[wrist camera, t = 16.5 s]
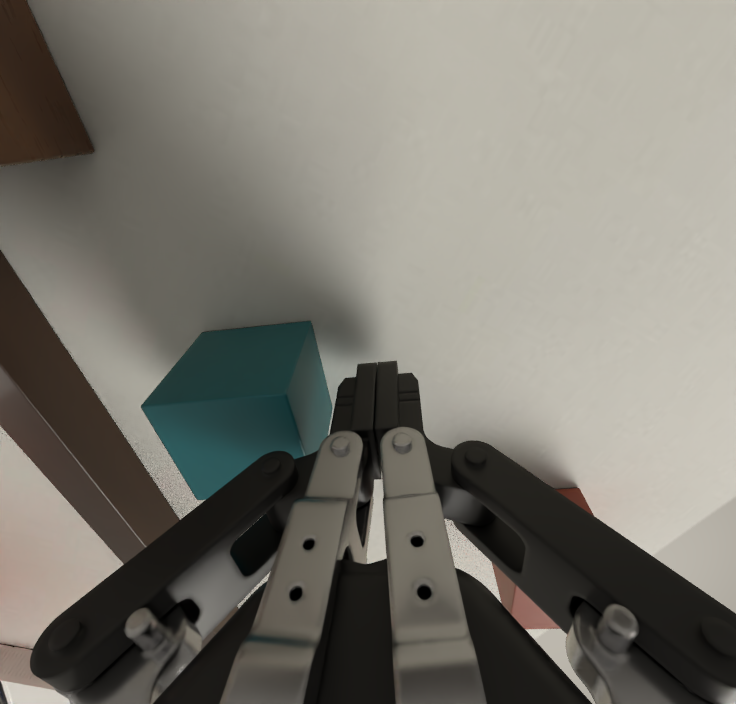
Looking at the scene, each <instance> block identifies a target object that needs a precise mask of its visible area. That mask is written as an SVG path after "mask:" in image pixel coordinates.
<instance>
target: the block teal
mask: <svg viewBox="0 0 736 704" xmlns="http://www.w3.org/2000/svg"><path fill="white" fill-rule="evenodd" d="M141 408H142V410H143V412H144V413H145V415H146V416H147V418H148V420H149V421H150V423H151V425H152V426H153V428H154V430H155V431H156V433H157V435H158V436H159V438H160V440H161V441H162V443H163V444H164V446H165V448H166V449H167V451H168V453H169V454H170V456H171V458H172V459H173V461H174V463H175V464H176V466H177V468H178V469H179V471H180V472H181V474H182V476H183V477H184V479H185V481H186V482H187V484H188V486H189V487H190V489H191V491H192V492H193V494H194V496H195V497H196V499H197V500H206V499H208V498H209V497H210V496H212V495H213V494H214V493H215V492H217V491H218V490H219V489H220V488H222V487H223V486H224V485H225V484H227V483H228V482H229V481H231V480H232V479H233V478H234V477H236V476H237V475H238V474H239V473H241V472H242V471H243V470H245V469H246V468H247V467H248V466H250V465H251V464H252V463H253V462H255V461H256V460H257V459H258V458H260V457H261V456H263V455H265V454H267V453H269V452H273V451H285V452H288V453H289V454H291V455H292V457H293V458H294V459H297V458H300V457H303V456H306V455H309V454H312V453H314V452H316V451H317V450H319V447H320V444H321V442H322V441H323V440H324V439H325V438H326V437H327V436H328V431H329V425H330V419H331V413H332V404H331V400H330V396H329V392H328V388H327V384H326V380H325V376H324V371H323V367H322V363H321V359H320V355H319V351H318V347H317V343H316V339H315V335H314V331H313V327H312V323H311V321H305V322H296V323H286V324H277V325H267V326H258V327H249V328H239V329H230V330H220V331H211V332H203V333H201V334H200V335H199V337H198V338H197V339H196V340H195V341H194V343H193V344H192V345H191V346H190V348H189V349H188V350H187V351H186V352H185V354H184V355H183V356H182V357H181V358H180V360H179V361H178V362H177V363H176V364H175V366H174V367H173V368H172V369H171V370H170V372H169V373H168V374H167V375H166V376H165V378H164V379H163V380H162V381H161V382H160V384H159V385H158V386H157V387H156V388H155V390H154V391H153V392H152V393H151V394H150V396H149V397H148V398H147V399H146V400H145V402H144V403H143V404H142V405H141Z"/></svg>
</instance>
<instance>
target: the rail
mask: <svg viewBox="0 0 736 704" xmlns="http://www.w3.org/2000/svg"><path fill="white" fill-rule="evenodd" d="M0 426H1V427H2V428H3V429H4V430H5V431H6V432H7V433H8V435H9V436H10V437H11V438H12V439H13V440H14V441H15V442H16V444H17V445H18V446H19V447H20V448H21V449H22V450H23V451H24V452H25V454H26V455H27V456H28V457H29V458H30V459H31V460H32V461H33V463H34V464H35V465H36V466H37V467H38V468H39V469H40V470H41V472H42V473H43V474H44V475H45V476H46V477H47V478H48V479H49V481H50V482H51V483H52V484H53V485H54V486H55V487H56V488H57V490H58V491H59V492H60V493H61V494H62V495H63V496H64V497H65V498H66V500H67V501H68V502H69V503H70V504H71V505H72V506H73V507H74V509H75V510H76V511H77V512H78V513H79V514H80V515H81V516H82V518H83V519H84V520H85V521H86V522H87V523H88V524H89V525H90V527H91V528H92V529H93V530H94V531H95V532H96V533H97V534H98V536H99V537H100V538H101V539H102V540H103V541H104V542H105V543H106V544H107V546H108V547H109V548H110V549H111V550H112V551H113V552H114V553H115V555H116V556H117V557H118V558H119V559H120V560H121V561H122V562H123V564H125V563H127V562H128V561H129V560H130V559H132V558H133V557H134V556H135V555H137V554H138V553H139V552H141V551H142V550H143V549H144V548H146V547H147V546H148V545H149V544H151V543H152V542H153V541H154V540H156V539H157V538H158V537H160V536H161V535H162V534H163V533H165V532H166V531H167V530H168V529H170V528H171V527H172V526H173V525H175V524H176V523H177V522H179V521H180V520H179V519H178V517H177V516H176V514H175V513H174V511H173V510H172V508H171V507H170V505H169V504H168V502H167V501H166V499H165V498H164V496H163V495H162V493H161V492H160V490H159V489H158V487H157V486H156V484H155V483H154V481H153V480H152V478H151V477H150V475H149V474H148V472H147V471H146V469H145V468H144V466H143V465H142V463H141V462H140V460H139V459H138V457H137V456H136V454H135V452H134V451H133V449H132V448H131V446H130V445H129V443H128V442H127V440H126V439H125V437H124V436H123V434H122V433H121V431H120V430H119V428H118V427H117V425H116V424H115V422H114V421H113V419H112V418H111V416H110V415H109V413H108V412H107V410H106V409H105V407H104V406H103V404H102V403H101V401H100V400H99V398H98V397H97V395H96V394H95V392H94V391H93V389H92V388H91V386H90V385H89V383H88V382H87V380H86V379H85V377H84V376H83V374H82V373H81V371H80V370H79V368H78V367H77V365H76V364H75V362H74V361H73V359H72V358H71V356H70V355H69V353H68V352H67V350H66V349H65V347H64V346H63V344H62V343H61V341H60V340H59V338H58V337H57V335H56V334H55V332H54V331H53V329H52V328H51V326H50V325H49V323H48V322H47V320H46V319H45V317H44V316H43V314H42V313H41V311H40V310H39V308H38V307H37V305H36V304H35V302H34V301H33V299H32V298H31V296H30V295H29V293H28V292H27V290H26V289H25V287H24V286H23V284H22V283H21V281H20V280H19V278H18V277H17V275H16V274H15V272H14V270H13V269H12V267H11V266H10V264H9V263H8V261H7V260H6V258H5V257H4V255H3V254H2V252H1V251H0ZM237 610H238V607H237V606H236V607H235V608H234V609H233V610H232V611H231V612H230V613H229V614H228V615H227V616H226V617H225V618H224V619H223V620H222V621H221V622H220V623H219V624H218V626H217V627H216V628H215V629H214V630H213V631H212V632H211V633H210V634H209V635H208V636H207V637H206V638H205V639H204V640H203V641H202V645H201V650H202V649H203V648H204V647H205V646H206V644H207V643H208V642H209V641H210V640H211V639H212V638H213V637H214V636H215V635H216V634H217V632H218V631H219V630H220V629H221V628H222V627H223V626H224V625H225V624H226V623H227V621H228V620H229V619H230V618H231V617H232V616H233V615H234V614H235V613H236V612H237Z"/></svg>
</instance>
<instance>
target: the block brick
mask: <svg viewBox="0 0 736 704" xmlns="http://www.w3.org/2000/svg"><path fill="white" fill-rule="evenodd" d="M555 490H556V491H558V492H559V493H561V494H562V495H564V496H565V497H567V498H568V499H570V500H571V501H572V502H574V503H575V504H577V505H578V506H580V507H581V508H583V509H584V510H586V511H587V512H588V513H590V514H591V515H593V513H592V511H591V509H590V508H589V506H588V504H587V502H586V500H585V498H584V496H583V494H582V492H581V490H580V489H579V488H571V489H555ZM593 516H594V515H593ZM492 565H493V569H494V573H495V577H496V581H497V586H498V590H499V594H500V598H501V602H502V605H503V606H504V607H505V608H506V609H507V610H508V611H509V612H510V614H511V615H512V616H513V617H514V618H515V619H516V620H517V621H518V622H519V624H520V625H521V626H522V627H523V628H524V629H561V628H560V627H559V626H558V625H557V624H556V623H555V622H554V621H553V620H552V619H551V618H550V617H549V616H547V615H546V614H545V613H544V612H543V611H542V610H541V609H540V608H539V607H538V606H537V605H536V604H535V603H534V602H533V601H532V600H531V599H530V598H529V597H528V596H527V595H526V594H525V593H524V592H523V591H522V590H521V589H520V588H518V587H517V586H516V585H515V584H514V583H513V582H512V581H511V580H510V579H509V578H508V577H507V576H506V575H505V574H504V573H503V572H502V571H501V570H500V569H499V568H498V567H497V566H496V565H495V564H494V563H493V562H492Z"/></svg>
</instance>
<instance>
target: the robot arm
mask: <svg viewBox="0 0 736 704" xmlns="http://www.w3.org/2000/svg"><path fill="white" fill-rule="evenodd" d="M381 471H382V478H383V491H384V498H383V511H384V525H385V540H386V554H387V559H384V560H381V561H378V562H374V563H371V564H367V549H368V541H369V533H370V525H371V517H372V509H373V488H374V479H381ZM260 517H261V518H260ZM259 518H260V519H259ZM444 518H446V519H449V520H453V522H454V524H455V526H456V527H457V528H458V530H459V531H460V532H461V533H462V534H464V535H465V536H466V537H467V538H468V539H469V540H470V541H471V542H472V543H473V544H474V545H475V546H476V547H477V548H478V549H479V550H480V551H481V552H482V553H483V554H484V555H485V556H486V557H487V558H488V559H489V560H490V561H492V562H493V563H494V564H495V565H496V566H497V567H498V568H499V569H500V570H501V571H502V572H503V573H504V574H505V575H506V576H507V577H508V578H509V579H510V580H511V581H512V582H513V583H514V584H515V585H516V586H517V587H518V588H520V589H521V590H522V591H523V592H524V593H525V594H526V595H527V596H528V597H529V598H530V599H531V600H532V601H533V602H534V603H535V604H536V605H537V606H538V607H539V608H540V609H541V610H542V611H543V612H544V613H545V614H546V615H547V616H549V617H550V618H551V619H552V620H553V621H554V622H555V623H556V624H557V625H558V626H559V627H560V628H561V629H562V630H563V631H564V632H565V633H566V634H567V637H566V652H567V656H568V659H569V662H570V664H571V666H572V668H573V670H574V671H575V673H576V675H577V676H578V677H579V678H580V680H581V681H582V682H583V683H584V684H585V686H586V687H587V689H588V690H589V692H590V693H591V695H592V697H593V699H594V701H595V703H596V704H736V614H735V613H734V612H732V611H731V610H730V609H728V608H727V607H725V606H724V605H722V604H721V603H720V602H718V601H717V600H715V599H714V598H712V597H711V596H709V595H708V594H706V593H705V592H704V591H702V590H701V589H699V588H698V587H696V586H695V585H693V584H692V583H690V582H689V581H688V580H686V579H685V578H683V577H682V576H680V575H679V574H677V573H676V572H674V571H673V570H671V569H670V568H669V567H667V566H666V565H664V564H663V563H661V562H660V561H658V560H657V559H655V558H654V557H653V556H651V555H650V554H648V553H647V552H645V551H644V550H642V549H641V548H639V547H638V546H637V545H635V544H634V543H632V542H631V541H629V540H628V539H626V538H625V537H623V536H622V535H621V534H619V533H618V532H616V531H615V530H613V529H612V528H610V527H609V526H607V525H606V524H604V523H603V522H602V521H600V520H599V519H597V518H596V517H594V516H593V515H591V514H590V513H588V512H587V511H586V510H584V509H583V508H581V507H580V506H578V505H577V504H575V503H574V502H572V501H571V500H570V499H568V498H567V497H565V496H564V495H562V494H561V493H559V492H558V491H556V490H555V489H554V488H552V487H551V486H549V485H548V484H546V483H545V482H543V481H542V480H540V479H539V478H538V477H536V476H535V475H533V474H532V473H530V472H529V471H527V470H526V469H524V468H523V467H521V466H520V465H519V464H517V463H516V462H514V461H513V460H511V459H510V458H508V457H507V456H505V455H504V454H503V453H501V452H500V451H498V450H497V449H495V448H494V447H492V446H491V445H489V444H487V443H485V442H481V441H466V442H463V443H460V444H459V445H457V446H456V447H455V448H454V449H450V448H446V447H442V446H439V445H436V444H434V443H433V442H431V441H430V440H429V439H428V438H427V437H426V435H425V433H424V430H423V422H422V413H421V404H420V395H419V385H418V380H417V379H416V378H415V377H414V375H413V374H412V373H403V374H398V367H397V361H389V362H378V365H377V363H365V364H358V366H357V374H356V377H352V378H345V379H344V380H343V382H342V383H341V384H340V385H339V387H338V392H337V398H336V402H335V408H334V413H333V419H332V424H331V430H330V435H328V436H327V437H326V438H325V439H324V440H323V441H322V442H321V444H320V447H319V450H317V451H316V452H314V453H312V454H309V455H306V456H303V457H300V458H297V459H294V458H293V457H292V455H291V454H289V453H288V452H285V451H273V452H269V453H267V454H265V455H263V456H261V457H260V458H258V459H257V460H256V461H255V462H253V463H252V464H251V465H250V466H248V467H247V468H246V469H245V470H243V471H242V472H241V473H239V474H238V475H237V476H236V477H234V478H233V479H232V480H231V481H229V482H228V483H227V484H225V485H224V486H223V487H222V488H220V489H219V490H218V491H217V492H215V493H214V494H213V495H212V496H210V497H209V498H208V499H206V500H205V501H204V502H203V503H201V504H200V505H199V506H198V507H196V508H195V509H194V510H193V511H191V512H190V513H189V514H187V515H186V516H185V517H184V518H182V519H181V520H180V521H179V522H177V523H176V524H175V525H173V526H172V527H171V528H170V529H168V530H167V531H166V532H165V533H163V534H162V535H161V536H160V537H158V538H157V539H156V540H154V541H153V542H152V543H151V544H149V545H148V546H147V547H146V548H144V549H143V550H142V551H141V552H139V553H138V554H137V555H135V556H134V557H133V558H132V559H130V560H129V561H128V562H127V563H125V564H124V565H123V566H121V567H120V568H119V569H118V570H116V571H115V572H114V573H113V574H111V575H110V576H109V577H108V578H106V579H105V580H104V581H102V582H101V583H100V584H99V585H97V586H96V587H95V588H94V589H92V590H91V591H90V592H89V593H87V594H86V595H85V596H83V597H82V598H81V599H80V600H78V601H77V602H76V603H75V604H73V605H72V606H71V607H69V608H68V609H67V610H66V611H64V612H63V613H62V614H61V615H59V616H58V617H57V618H56V619H55V620H54V621H53V622H52V623H51V624H50V625H49V626H48V627H47V628H46V629H45V630H44V632H43V633H42V635H41V636H40V637H39V639H38V641H37V642H36V644H35V646H34V648H33V651H32V654H31V658H30V669H31V672H32V673H33V674H34V675H35V676H36V677H38V678H40V679H41V680H43V681H44V682H46V683H48V684H49V685H51V686H53V688H54V689H55V691H56V692H58V693H59V694H61V695H63V696H64V697H66V698H68V699H69V702H70V704H592V703H591V702H590V701H589V700H588V699H587V697H586V696H585V695H584V694H583V693H582V692H581V691H580V690H579V689H578V688H577V687H576V685H575V684H574V683H573V682H572V681H571V680H570V679H569V678H568V677H567V675H566V674H565V673H564V672H563V671H562V670H561V669H560V668H559V667H558V666H557V664H555V662H554V661H553V660H552V659H551V658H550V657H549V656H548V654H547V653H546V652H545V651H544V650H543V649H542V648H541V647H540V646H539V645H538V644H537V642H536V641H535V640H534V639H533V638H532V637H531V636H530V635H529V633H528V632H527V631H526V630H525V629H524V628H523V627H522V626H521V625H520V624H519V622H518V621H517V620H516V619H515V618H514V617H513V616H512V615H511V614H510V612H509V611H508V610H507V609H506V608H505V607H504V606H503V605H502V604H501V603H500V601H499V600H498V599H497V598H496V597H495V596H494V595H493V594H492V593H491V592H490V591H489V590H488V588H486V587H485V586H484V585H483V584H482V583H481V582H479V581H478V580H477V579H475V578H474V577H472V576H471V575H469V574H467V573H466V572H464V571H462V570H460V569H457V568H455V566H454V561H453V557H452V552H451V547H450V543H449V538H448V534H447V529H446V525H445V520H444ZM258 519H259V520H258ZM257 520H258V521H257ZM249 527H250V528H249ZM248 528H249V529H248ZM247 529H248V530H247ZM246 530H247V531H246ZM238 537H239V538H238ZM237 538H238V539H237ZM236 539H237V540H236ZM270 571H271V572H270ZM269 572H270V575H269V578H268V581H267V582H266V583H264V584H263V585H262V586H261V587H259V588H258V589H257V590H256V591H255V592H254V593H253V594H252V595H251V596H250V597H249V598H248V599H247V601H246V602H245V603H244V604H243V605H242V606H241V607H240V608H239V609H238V610H237V612H236V613H235V614H234V615H233V616H232V617H231V618H230V619H229V620H228V621H227V623H226V624H225V625H224V626H223V627H222V628H221V629H220V630H219V631H218V632H217V634H216V635H215V636H214V637H213V638H212V639H211V640H210V641H209V642H208V643H207V644H206V646H205V647H204V648H203V649H202V650H201V645H202V641H203V640H204V639H205V638H206V637H207V636H208V635H209V634H210V633H211V632H212V631H213V630H214V629H215V628H216V627H217V626H218V624H219V623H220V622H221V621H222V620H223V619H224V618H225V617H226V616H227V615H228V614H229V613H230V612H231V611H232V610H233V609H234V608H235V607H236V606H237V605H238V604H239V603H240V602H241V601H242V600H243V599H244V598H245V597H246V596H247V595H248V594H249V593H250V592H251V590H252V589H253V588H254V587H255V586H256V585H257V584H258V583H259V582H260V581H261V580H262V579H263V578H264V577H265V576H266V575H267V574H268V573H269Z"/></svg>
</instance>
